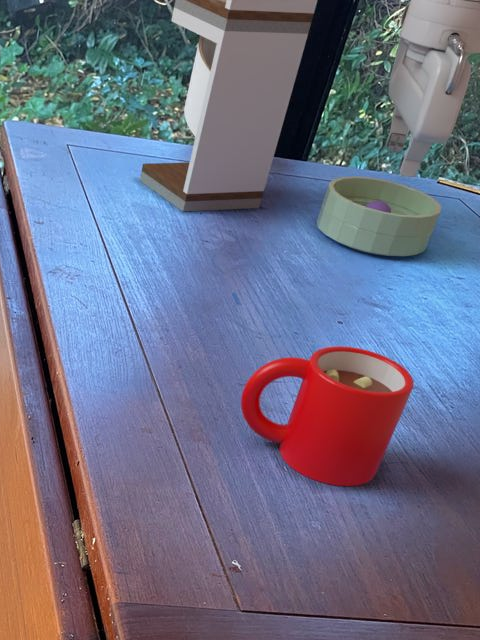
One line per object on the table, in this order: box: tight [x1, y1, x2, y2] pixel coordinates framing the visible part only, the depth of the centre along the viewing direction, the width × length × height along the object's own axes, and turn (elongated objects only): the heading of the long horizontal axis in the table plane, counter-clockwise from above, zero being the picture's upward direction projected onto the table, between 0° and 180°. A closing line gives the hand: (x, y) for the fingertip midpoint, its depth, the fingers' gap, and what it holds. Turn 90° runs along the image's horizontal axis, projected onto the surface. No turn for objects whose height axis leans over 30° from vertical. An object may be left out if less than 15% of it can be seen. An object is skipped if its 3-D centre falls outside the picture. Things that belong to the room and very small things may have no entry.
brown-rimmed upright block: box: [139, 0, 318, 212], centre depth 114 cm, size 11×11×35 cm
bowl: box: [316, 175, 443, 257], centre depth 120 cm, size 13×13×5 cm
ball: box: [365, 201, 391, 213], centre depth 120 cm, size 4×4×4 cm
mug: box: [240, 345, 414, 487], centre depth 78 cm, size 8×12×8 cm, turn 77°
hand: (399, 162), depth 115 cm, fingers open, 8 cm apart
